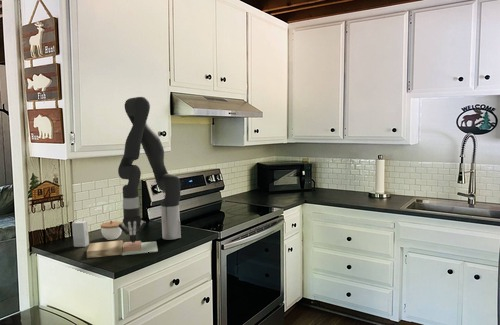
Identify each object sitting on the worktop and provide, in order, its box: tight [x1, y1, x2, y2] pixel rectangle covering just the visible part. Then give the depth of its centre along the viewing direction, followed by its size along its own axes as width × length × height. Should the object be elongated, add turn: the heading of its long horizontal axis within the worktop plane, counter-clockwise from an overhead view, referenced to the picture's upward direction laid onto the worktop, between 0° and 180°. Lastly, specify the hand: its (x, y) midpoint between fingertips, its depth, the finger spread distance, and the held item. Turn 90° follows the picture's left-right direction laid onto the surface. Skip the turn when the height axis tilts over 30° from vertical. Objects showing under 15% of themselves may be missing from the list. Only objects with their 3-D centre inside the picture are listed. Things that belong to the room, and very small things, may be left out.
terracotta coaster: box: [123, 240, 142, 252], centre depth 188 cm, size 8×8×2 cm
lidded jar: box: [100, 220, 123, 241], centre depth 208 cm, size 11×11×9 cm
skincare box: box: [71, 220, 90, 248], centre depth 195 cm, size 6×4×12 cm
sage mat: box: [121, 241, 159, 256], centre depth 189 cm, size 16×16×1 cm
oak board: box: [86, 239, 124, 259], centre depth 185 cm, size 15×13×3 cm
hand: (133, 242), depth 188 cm, fingers closed
